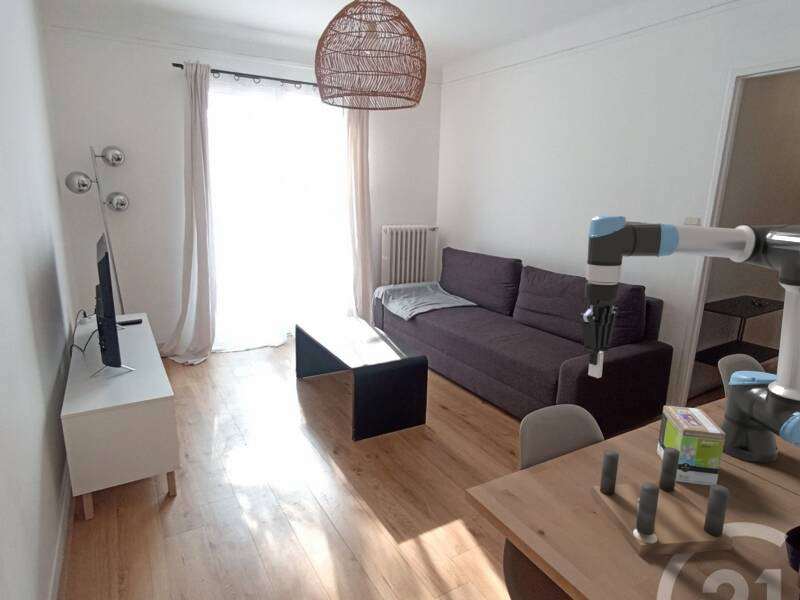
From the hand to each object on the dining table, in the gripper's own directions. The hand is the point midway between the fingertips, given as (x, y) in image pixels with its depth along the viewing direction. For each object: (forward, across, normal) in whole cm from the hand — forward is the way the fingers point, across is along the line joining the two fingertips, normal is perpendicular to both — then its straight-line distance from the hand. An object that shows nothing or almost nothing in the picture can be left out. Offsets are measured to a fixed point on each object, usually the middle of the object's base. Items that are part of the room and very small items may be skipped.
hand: (594, 375), depth 116 cm
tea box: (+29, -25, +13) cm, 40 cm away
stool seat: (+28, +3, +19) cm, 34 cm away
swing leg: (+25, +9, +19) cm, 33 cm away
